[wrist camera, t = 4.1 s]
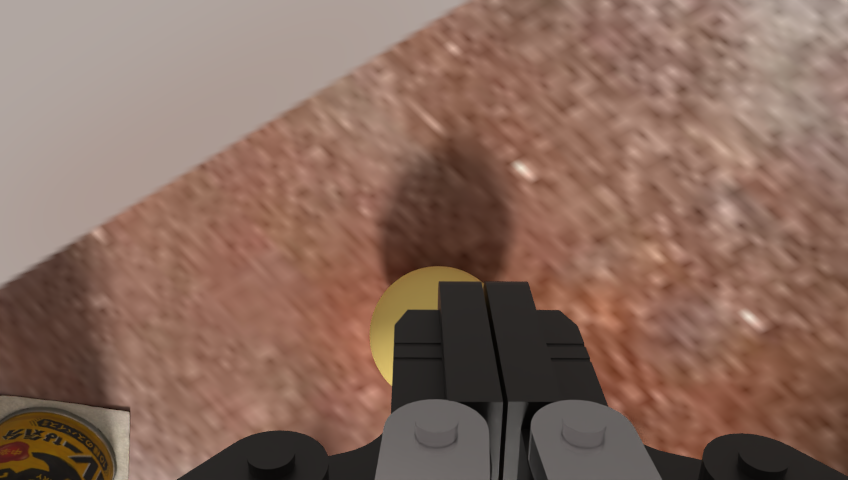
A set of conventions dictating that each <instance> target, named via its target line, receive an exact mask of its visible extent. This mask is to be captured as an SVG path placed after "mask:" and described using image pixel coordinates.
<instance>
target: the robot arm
mask: <svg viewBox="0 0 848 480" xmlns="http://www.w3.org/2000/svg"><path fill="white" fill-rule="evenodd" d="M177 480H848V476H846V475H844V474H842V473H840V472H838V471H836V470H834V469H832V468H830V467H829V466H827V465H825V464H823V463H821V462H819V461H817V460H815V459H813V458H811V457H810V456H808V455H806V454H804V453H802V452H800V451H798V450H796V449H794V448H792V447H791V446H788V445H786V444H784V443H782V442H780V441H777V440H774V439H771V438H768V437H764V436H759V435H754V434H743V433H741V434H728V435H724V436H720V437H718V438H716V439H714V440H712V441H711V442H710V443H708V444H707V446H706V447H705V449H704V452H703V457H702V460H699V459H694V458H690V457H685V456H680V455H676V454H671V453H667V452H663V451H659V450H656V449H654V448H651V447H648V446H646V445H644V444H643V443H642V441H641V439H640V437H639V435H638V434H637V432H636V430H635V428H634V426H633V425H632V424H631V422H630V421H629V420H628V419H627V418H626V417H625V416H623V415H622V414H621V413H619V412H617V411H616V410H614V409H612V408H610V407H608V405H607V402H606V400H605V397H604V394H603V392H602V389H601V386H600V384H599V381H598V378H597V376H596V373H595V371H594V368H593V365H592V363H591V362H590V357H589V355H588V352H587V350H586V347H584V342H583V339H582V336H581V334H580V331H579V328H578V326H577V325H576V324H575V323H574V322H572V321H571V320H570V319H569V318H568V317H566V316H565V315H564V314H563V313H562V312H561V311H559V310H536V307H535V304H534V301H533V297H532V294H531V291H530V287H529V284H528V282H499V281H485V282H484V285H483V286H482V282H480V281H439V283H438V310H407V311H406V312H405V313H404V314H403V316H402V317H401V318H400V319H399V320H398V321H397V323H396V324H395V326H394V351H393V376H392V402H391V415H390V416H389V417H388V419H387V420H386V422H385V425H384V429H383V433H382V434H381V435H380V436H379V437H378V438H377V439H375V440H374V441H372V442H371V443H369V444H367V445H365V446H363V447H361V448H358V449H356V450H353V451H349V452H345V453H341V454H336V455H332V456H327V452H326V451H325V449H324V448H323V446H322V445H321V444H320V443H319V442H318V441H316V440H315V439H313V438H311V437H309V436H307V435H305V434H301V433H297V432H292V431H267V432H262V433H257V434H254V435H250V436H248V437H246V438H243V439H241V440H239V441H237V442H236V443H234V444H232V445H231V446H229V447H227V448H226V449H224V450H223V451H221V452H220V453H218V454H216V455H215V456H213V457H212V458H210V459H209V460H207V461H205V462H204V463H202V464H201V465H199V466H198V467H196V468H194V469H193V470H191V471H190V472H188V473H186V474H185V475H183V476H182V477H180V478H179V479H177Z"/></svg>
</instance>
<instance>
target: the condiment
mask: <svg viewBox="0 0 848 480" xmlns="http://www.w3.org/2000/svg"><path fill="white" fill-rule="evenodd" d="M129 432H130V415H129V412H126V411H121V410H112V409H104V408H101V407H91V406H88V405H80V404H74V403H65V402H59V401H51V400H41V399H31V398H25V397H16V396H0V480H128V462H129Z"/></svg>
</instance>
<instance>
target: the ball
mask: <svg viewBox="0 0 848 480" xmlns="http://www.w3.org/2000/svg"><path fill="white" fill-rule="evenodd" d="M439 281H480V280H479V279H477V278H476V277H474V276H472V275H471V274H469V273H467V272H465V271H462V270H459V269H456V268H451V267H444V266H432V267H425V268H421V269H417V270H414V271H412V272H410V273H407V274H405V275H404V276H402V277H400V278H399V279H398V280H397V281H395V282H394V283H393V284H392V285H391V286H390V287H389V288H388V289H387V290H386V291H385V292H384V294H383V295H382V296H381V298H380V300H379V302H378V303H377V305H376V307H375V310H374V312H373V315H372V320H371V325H370V347H371V351H372V355H373V358H374V361H375V363H376V366H377V367H378V369H379V371H380V372H381V374H382V375H383V377H384V378H385V379H386V381H387V382H388V383H389V384H390V385H391V386H392V376H393V351H394V326H395V324H396V323H397V321H398V320H399V319H400V318H401V317H402V316H403V314H404V313H405V312H406V311H407V310H438V283H439ZM480 282H481V281H480ZM483 285H484V283H482V286H483Z"/></svg>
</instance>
